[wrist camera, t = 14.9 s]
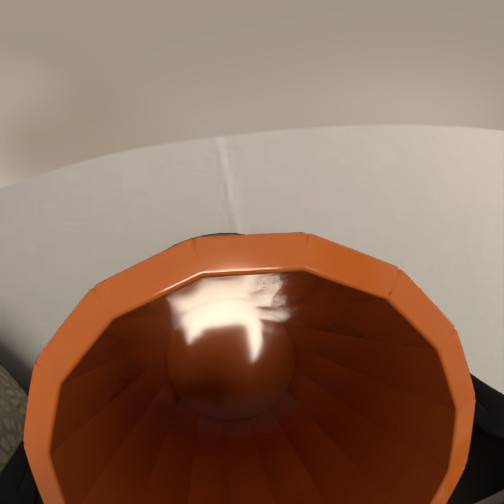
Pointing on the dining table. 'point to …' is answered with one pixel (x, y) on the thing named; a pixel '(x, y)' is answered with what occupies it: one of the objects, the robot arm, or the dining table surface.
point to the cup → (252, 382)
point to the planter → (10, 415)
